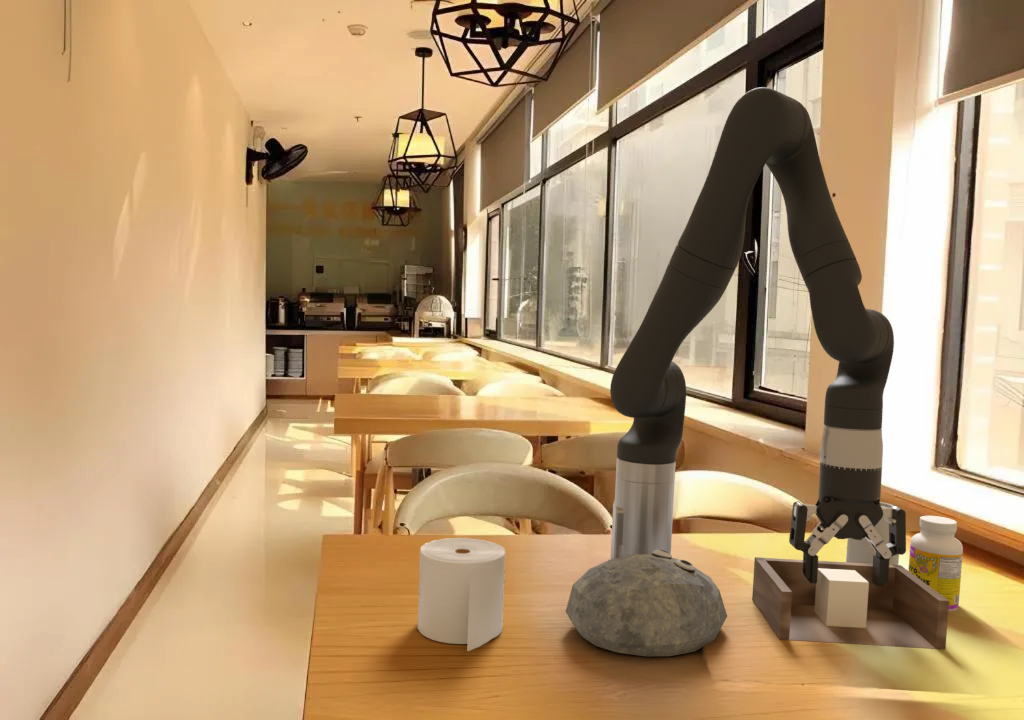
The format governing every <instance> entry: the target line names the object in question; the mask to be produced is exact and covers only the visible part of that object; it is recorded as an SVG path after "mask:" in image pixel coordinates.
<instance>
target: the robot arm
mask: <svg viewBox="0 0 1024 720" xmlns="http://www.w3.org/2000/svg"><path fill="white" fill-rule="evenodd" d="M816 139H817V138H816V135H815V131H814V127H813V123H812V120H811V117H810V114H809V112H808V110H807V108H806V107H805V106H804V104H802V103H801V102H800V101H798V100H797V99H795V98H794V97H790V96H788V95H787V94H784V93H782V92H780V91H778V90H776V89H774V88H770V87H766V86H761V87H755V88H753V89H750V90H749V91H746V92H745V93H744V94H743V95H742V96H740V98H739V99H738V100H737V101H736V102H735V103H734V105H733V106H732V108H731V110H730V112H729V114H728V116H727V118H726V120H725V123H724V126H723V128H722V132H721V135H720V138H719V140H718V144H717V145H716V150H715V152H714V155H713V159H712V162H711V165H710V168H709V170H708V173H707V176H706V178H705V181H704V184H703V186H702V188H701V191H700V192H699V194H698V197H697V199H696V202H695V204H694V206H693V209H692V210H691V213H690V216H689V218H688V221H687V223H686V226H685V227H684V228H683V229H684V230H683V231H682V233H681V235H680V237H679V239H678V242H677V244H676V245H675V248H674V251H673V253H672V255H671V257H670V260H669V261H668V264H667V267H666V268H665V272H664V274H663V276H662V279H661V281H660V284H659V285H658V288H657V289H656V291H655V294H654V295H653V298H652V300H651V302H650V304H649V306H648V309H647V311H646V313H645V316H644V317H643V320H642V321H641V324H640V326H639V328H638V329H637V331H636V333H635V335H634V336H633V338H632V340H631V342H630V343H629V345H628V347H627V348H626V350H625V352H624V354H623V355H622V357H621V358H620V360H619V362H618V363H617V366H616V368H615V370H614V372H613V374H612V378H611V381H610V390H609V391H610V399H611V403H612V405H613V407H614V408H615V410H616V411H617V412H618V413H619V414H621V415H623V416H624V417H628V418H632V419H633V422H632V424H631V426H630V428H629V430H628V431H627V433H625V434H624V435H622V436H621V437H620V439H619V440H618V443H617V447H616V467H615V468H616V469H615V488H614V489H615V490H614V491H615V492H614V501H613V502H612V503H613V504H612V521H611V522H612V524H611V525H612V526H611V527H612V528H611V540H610V541H611V542H610V546H611V547H610V560H611V559H616V558H620V557H625V556H629V555H634V554H646V555H651V554H652V552H653V551H655V550H664V551H667V552H668V553H670V554H671V555H672V540H673V539H672V536H673V518H674V517H673V516H674V503H675V502H674V499H675V498H674V497H675V483H676V482H675V481H676V463H677V462H676V461H677V452H678V449H679V447H680V445H681V443H682V440H683V434H684V432H683V431H684V422H685V413H686V403H687V384H686V377H685V376H684V373H683V371H682V368H680V366H679V365H678V364H677V363H676V362H674V361H673V359H674V357H675V355H676V354H677V351H678V350H679V348H680V347H681V345H682V343H683V342H684V340H685V339H686V338H687V336H689V334H691V332H692V331H693V330H694V329H695V328H696V327H697V326H698V325H700V323H701V322H702V321H703V320H704V319H706V316H707V315H709V313H710V312H711V311H712V310H713V309H714V308H715V307H716V305H717V304H718V302H719V301H720V300H721V298H722V297H723V295H724V294H725V292H726V290H727V287H728V285H729V284H730V282H731V280H732V277H734V276H733V275H734V274H735V271H736V268H737V267H738V265H739V263H740V259H741V256H742V254H743V248H744V242H745V234H746V233H745V232H746V220H747V211H748V210H747V209H748V205H749V201H750V199H751V198H750V197H751V195H752V192H753V190H754V187H755V185H756V183H757V181H758V180H759V176H760V175H761V173H762V171H763V169H764V167H765V165H766V166H767V167H768V169H769V171H770V173H771V174H772V176H773V177H774V179H775V180H776V182H777V184H778V186H779V190H780V192H781V193H782V194H781V195H782V197H783V201H784V204H785V205H784V206H785V212H786V220H787V221H786V223H787V233H788V240H789V244H790V248H791V251H792V252H791V253H792V254H793V257H794V261H795V263H796V265H797V268H798V269H799V272H800V274H801V275H800V276H801V278H802V281H803V282H804V284H805V286H806V289H807V291H808V295H809V303H810V311H811V316H812V322H813V327H814V330H815V334H816V336H817V339H818V341H819V343H820V346H821V347H822V348H823V350H824V351H825V353H826V354H827V355H828V356H829V357H830V358H832V359H833V360H835V361H837V362H838V366H837V373H836V377H835V379H834V381H832V382H831V383H830V384H829V385H828V386H827V388H826V392H825V396H824V414H823V429H822V435H821V441H820V449H819V455H818V456H819V474H818V475H819V478H818V499H817V501H816V502H815V504H809V503H802V502H801V501H797V500H796V501H794V502H793V504H792V508H791V509H792V511H791V519H790V530H789V536H788V537H789V539H788V543H789V544H790V545H791V547H793V548H794V549H795V550H797V551H801V552H802V554H803V555H802V560H803V574H804V576H805V577H806V578H807V580H808V581H809V582H810V583H817V575H818V561H819V556H818V555H817V554H818V553H819V552H820V551H821V549H823V547H824V546H825V545H827V544H829V543H830V541H831V540H832V539H833V538H835V539H837V540H846V539H847V540H848V538H852V539H855V540H862V538H866V539H867V540H868V542H869V543H870V544H871V546H872V547H873V548H874V550H875V551H876V555H873V570H872V582H873V583H874V584H875V585H876V586H880V587H883V586H884V582H887V581H888V577H889V560H890V558H891V557H892V556H894V555H897V554H899V556H900V555H901V556H902V555H905V554H906V552H907V525H906V524H907V521H906V520H907V519H906V518H907V513H906V510H904V509H902V507H899V506H897V505H894V504H891V506H890V507H884V508H881V506H880V502H881V493H882V476H883V475H882V474H883V459H884V458H883V457H884V456H883V455H884V454H883V453H884V445H883V444H884V443H883V433H882V432H883V430H882V429H883V427H882V426H883V424H882V423H883V411H884V405H883V404H884V391H885V388H886V384H887V382H888V378H889V374H890V369H891V366H892V361H893V354H894V349H895V348H894V347H895V338H894V330H893V326H892V324H891V322H890V321H889V319H888V318H887V316H886V315H884V314H883V313H881V312H880V311H877V310H875V309H870V308H866V307H865V304H864V302H863V298H862V296H861V293H860V289H859V285H860V284H861V282H862V278H863V276H862V271H861V270H862V269H861V268H860V264H859V262H858V260H857V257H856V255H855V253H854V251H853V247H852V246H851V243H850V242H849V239H848V236H847V234H846V232H845V230H844V229H845V228H844V227H843V225H842V222H841V220H840V218H839V215H838V212H837V211H836V208H835V205H834V202H833V199H832V196H831V194H830V191H829V186H828V185H827V181H826V177H825V174H824V170H823V166H822V163H821V159H820V155H819V154H820V153H819V149H818V145H817V141H816ZM813 515H815V516H816V517H817V519H818V520H819V522H818V523H817V524H816V525H815V527H814V528H813V529H812V531H811V534H810V535H809V537H808V538H807V539H806V540H805V538H806V527H807V522H808V521H810V520H811V518H812V517H813ZM883 516H884V517H885V521H886V522H888V523H889V543H888V544H885V543H884V541H883V539H882V537H881V536H880V535H879V533H878V532H877V530H876V529H875V528H874V527H875V526H876V525H877V523H878V522H879V521H880V520H881V518H882V517H883Z"/></svg>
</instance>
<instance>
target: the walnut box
mask: <svg viewBox="0 0 1024 720" xmlns="http://www.w3.org/2000/svg"><path fill="white" fill-rule="evenodd" d="M753 563H754V564H753V579H752V581H753V582H752V599H751V600H752V602H753V603H754V604H755V605H756V608H757V609H758V610H759V612H760V613H761V616H763V618H764V619H765V621H766V622H767V624H768V625H769V627H770V628H771V630H772V631H773V633H774V634H775V635H776V637H777V639H778V640H779V641H781V640H783V641H798V642H799V641H800V642H813V643H830V644H831V643H833V644H848V645H849V644H850V645H864V646H865V645H866V646H867V645H868V646H879V647H881V646H882V647H896V648H897V647H900V648H915V649H931V650H946V648H947V647H946V646H947V636H948V635H947V634H948V623H949V622H948V620H949V611H948V609H949V601H948V600H947V599H946V598H944V597H943V596H942V595H940V594H939V593H938V592H936V591H935V590H934V589H932V588H931V587H929V586H928V585H927V584H925V583H924V582H923V581H921V580H920V579H919V578H917V577H916V576H915V575H913V574H912V573H910V572H909V571H908V570H909V569H906V567H904V566H902V565H901V564H898V565H889V577H888V581H887V582H884V586H883V587H880V586H876V585H875V584H874V583H873V582H872V570H873V564H867V563H849V562H846V561H845V562H844V561H827V560H818V568H823V569H841V570H855V571H856V572H857V573H859V574H860V575H861V576H862V577H863V578H864V579H865V580H867V581H868V582H869V589H868V604H867V618H866V628H857V627H840V626H826V625H825V623H824V622H823V621H822V620H821V619H820V618H819V616H818V615H817V614H816V613H815V612H814V609H815V594H816V583H810V582H809V581H808V580H807V578H806V577H805V576H804V574H803V559H795V558H794V559H792V558H776V557H773V558H772V557H756V556H755V557H754V562H753Z"/></svg>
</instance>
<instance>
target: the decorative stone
mask: <svg viewBox="0 0 1024 720" xmlns="http://www.w3.org/2000/svg"><path fill="white" fill-rule="evenodd" d="M565 613H566V615H567V617H568V618H569V620H570V622H571V623H572V624H573V627H574V628H575V629H576V631H577V632H578V633H579V635H580V636H581V637H582V638H583V639H584V640H586V641H587V642H589V643H591V644H592V645H593V646H595V647H598V648H601V649H604V650H608V651H611V652H615V653H620V654H626V655H632V656H633V655H634V656H638V657H639V656H640V657H672V656H679V655H682V654H684V655H685V654H689V653H694V652H696V651H698V650H700V649H701V648H703V646H706V645H709V644H710V643H712V642H713V643H714V641H715V639H716V638H717V636H718V634H719V633H720V630H721V629H722V626H723V625H724V623H725V621H726V619H727V618H728V614H727V610H726V608H725V603H724V601H723V598H722V594H721V591H720V589H719V587H718V586H717V585H716V583H715V582H714V581H713V579H712V578H711V577H710V576H709V575H708V574H706V573H704V572H703V571H701V570H700V569H698V568H696V567H695V566H694V565H693V564H692V563H691V562H689V561H688V560H685V559H678V558H675V557H673V556H672V553H671V554H670V553H668V552H667V551H664V550H655V551H653V552H652V554H651V555H646V554H634V555H629V556H625V557H620V558H616V559H611V558H610V559H609V560H606V561H604V562H602V563H599V564H598V565H595V566H593V567H591V568H589V569H587V570H586V571H585V572H584V573H583V574H582V575H581V576H580V577H579V578H578V579H577V580H575V582H574V583H573V584H572V587H571V590H570V594H569V599H568V601H567V605H566V609H565Z"/></svg>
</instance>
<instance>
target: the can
mask: <svg viewBox="0 0 1024 720" xmlns="http://www.w3.org/2000/svg"><path fill="white" fill-rule="evenodd" d="M891 505H892V503H888V502H883V501H880V506H881V508H884V507H890V506H891ZM874 528H875V529H876V530H877V532H878V533H879V535H880V536H881V537H882V539H883V541H884V543H885V544H888V543H889V523H888V522H886V521H885V517H884V516H883V517H882V518H881V520H880V521H879V522H878V523H877V525H876V526H875V527H874ZM845 555H846V556H845V562H849V563H867V564H873V555H876V551H875V550H874V548H873V547H872V546H871V544H870V543H869V542H868V540H867V539H866V538H862V540H855V539H852V538H847V542H846V554H845ZM899 558H900V554H897V555H894V556H892V557H891V558H890V560H889V565H899V564H900V563H899V561H900V560H899Z"/></svg>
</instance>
